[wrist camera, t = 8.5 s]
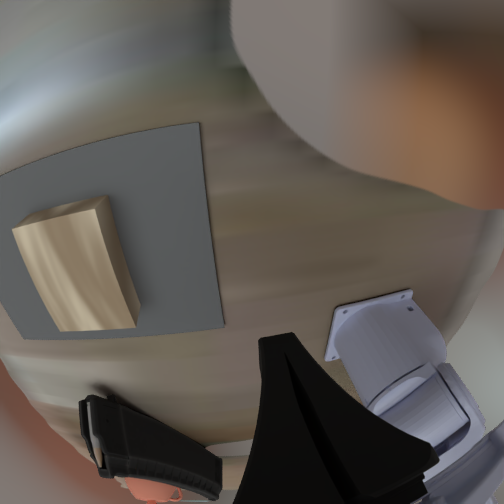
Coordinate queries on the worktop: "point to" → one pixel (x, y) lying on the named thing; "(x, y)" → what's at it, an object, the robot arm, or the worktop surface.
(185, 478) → the magazine
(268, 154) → the worktop surface
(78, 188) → the mat
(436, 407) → the robot arm
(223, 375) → the worktop surface
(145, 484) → the sugar bowl
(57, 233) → the tile
